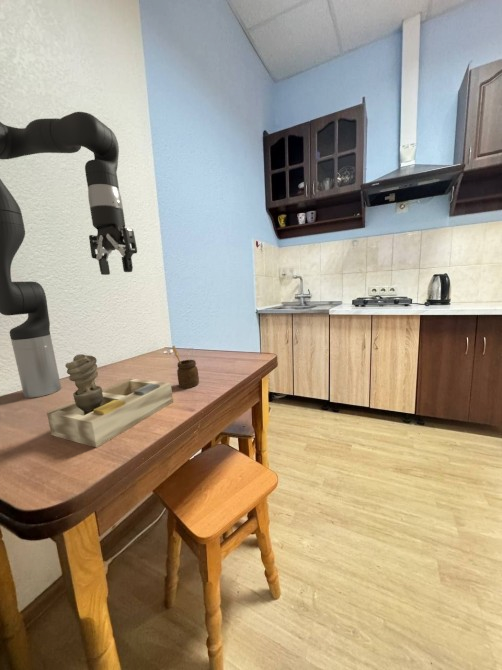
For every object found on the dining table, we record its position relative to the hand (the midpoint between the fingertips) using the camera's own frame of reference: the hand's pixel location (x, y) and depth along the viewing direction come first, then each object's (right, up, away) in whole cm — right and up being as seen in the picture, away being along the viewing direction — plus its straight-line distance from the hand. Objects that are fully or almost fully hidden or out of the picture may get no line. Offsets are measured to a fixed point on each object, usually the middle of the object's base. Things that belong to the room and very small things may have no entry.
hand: (116, 273), depth 73 cm
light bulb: (+1, -35, -14) cm, 38 cm away
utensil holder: (+17, -31, +9) cm, 37 cm away
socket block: (+5, -35, -10) cm, 37 cm away
